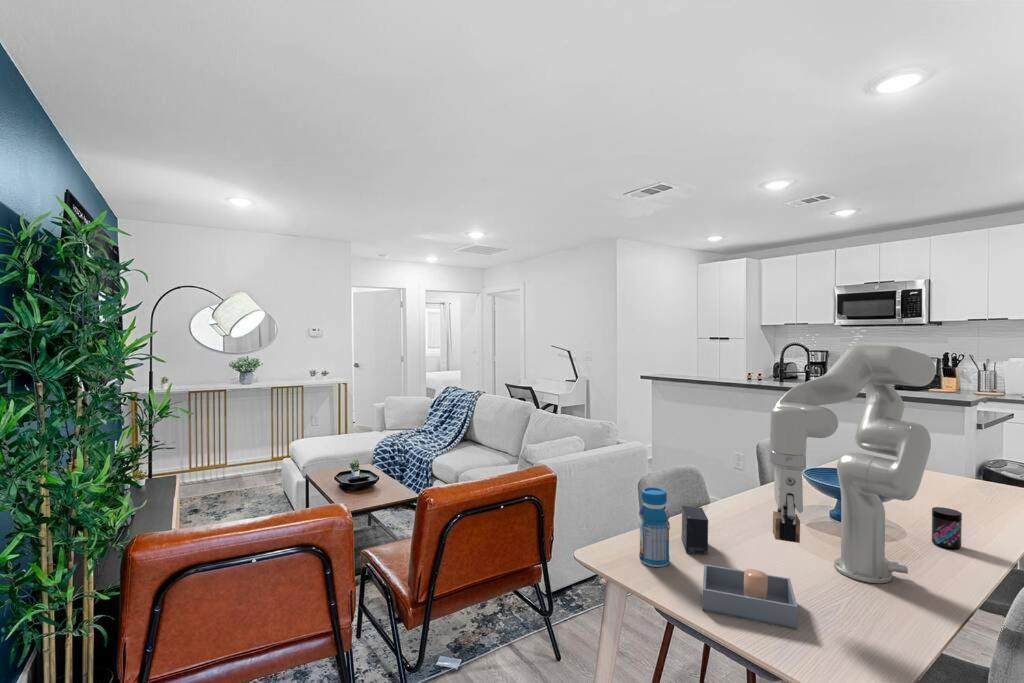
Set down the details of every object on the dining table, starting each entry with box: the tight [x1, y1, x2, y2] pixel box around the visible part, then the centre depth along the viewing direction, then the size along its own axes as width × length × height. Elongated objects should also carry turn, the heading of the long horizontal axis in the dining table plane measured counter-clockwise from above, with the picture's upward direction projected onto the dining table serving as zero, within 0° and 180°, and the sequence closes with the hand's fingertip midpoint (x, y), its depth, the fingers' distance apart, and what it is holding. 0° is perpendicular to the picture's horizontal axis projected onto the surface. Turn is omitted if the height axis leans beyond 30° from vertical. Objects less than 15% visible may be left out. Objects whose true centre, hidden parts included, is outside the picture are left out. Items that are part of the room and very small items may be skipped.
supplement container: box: [931, 506, 963, 551], centre depth 147 cm, size 7×7×10 cm
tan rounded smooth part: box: [743, 568, 768, 600], centre depth 116 cm, size 5×5×7 cm
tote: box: [702, 563, 799, 631], centre depth 117 cm, size 19×13×5 cm
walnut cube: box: [772, 511, 801, 544], centre depth 117 cm, size 5×5×5 cm
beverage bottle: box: [638, 486, 671, 568], centre depth 139 cm, size 8×8×20 cm
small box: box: [680, 505, 709, 556], centre depth 148 cm, size 11×6×10 cm, turn 169°
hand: (785, 535), depth 117 cm, fingers closed on walnut cube, 5 cm apart
